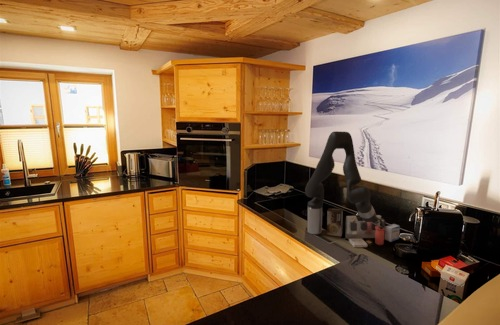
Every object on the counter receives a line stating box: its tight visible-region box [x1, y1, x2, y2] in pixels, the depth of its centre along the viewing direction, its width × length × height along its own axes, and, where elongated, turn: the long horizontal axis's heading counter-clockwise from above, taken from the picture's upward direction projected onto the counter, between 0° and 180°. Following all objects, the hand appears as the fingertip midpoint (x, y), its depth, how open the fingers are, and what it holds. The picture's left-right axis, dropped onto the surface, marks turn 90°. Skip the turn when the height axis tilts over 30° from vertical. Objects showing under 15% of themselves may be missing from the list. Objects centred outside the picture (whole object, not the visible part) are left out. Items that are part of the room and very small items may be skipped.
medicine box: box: [384, 223, 401, 243], centre depth 161 cm, size 8×4×9 cm, turn 117°
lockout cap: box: [374, 226, 385, 246], centre depth 156 cm, size 5×5×10 cm
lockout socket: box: [348, 238, 368, 248], centre depth 156 cm, size 8×8×2 cm
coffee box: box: [326, 207, 344, 237], centre depth 170 cm, size 9×6×16 cm
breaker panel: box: [344, 214, 382, 240], centre depth 163 cm, size 4×21×14 cm, turn 91°
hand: (373, 225), depth 147 cm, fingers open, 8 cm apart
